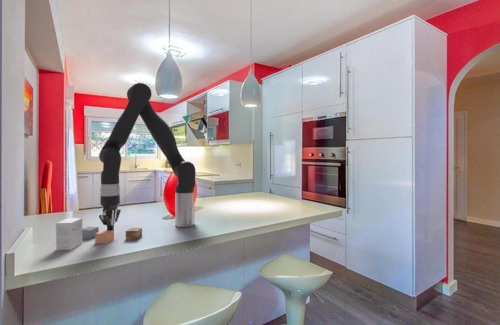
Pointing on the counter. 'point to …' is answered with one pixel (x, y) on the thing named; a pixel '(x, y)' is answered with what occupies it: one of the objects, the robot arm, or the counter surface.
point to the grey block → (89, 232)
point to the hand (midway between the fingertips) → (110, 233)
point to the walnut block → (133, 233)
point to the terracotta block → (104, 236)
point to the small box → (68, 233)
